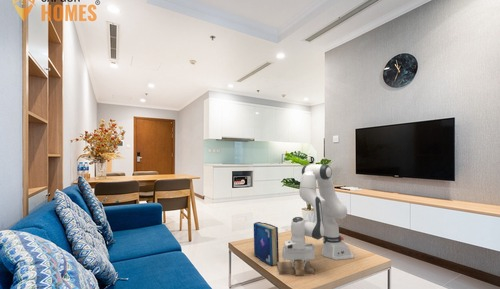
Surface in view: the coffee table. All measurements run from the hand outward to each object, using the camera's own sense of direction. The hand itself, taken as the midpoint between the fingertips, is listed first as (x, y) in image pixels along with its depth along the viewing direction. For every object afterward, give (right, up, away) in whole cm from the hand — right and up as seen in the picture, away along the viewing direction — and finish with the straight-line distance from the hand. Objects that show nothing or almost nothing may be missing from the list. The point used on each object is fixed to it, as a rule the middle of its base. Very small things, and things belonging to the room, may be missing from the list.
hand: (298, 266), depth 147 cm
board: (-1, -4, +4) cm, 6 cm away
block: (0, -4, 0) cm, 4 cm away
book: (-20, -5, +19) cm, 28 cm away
